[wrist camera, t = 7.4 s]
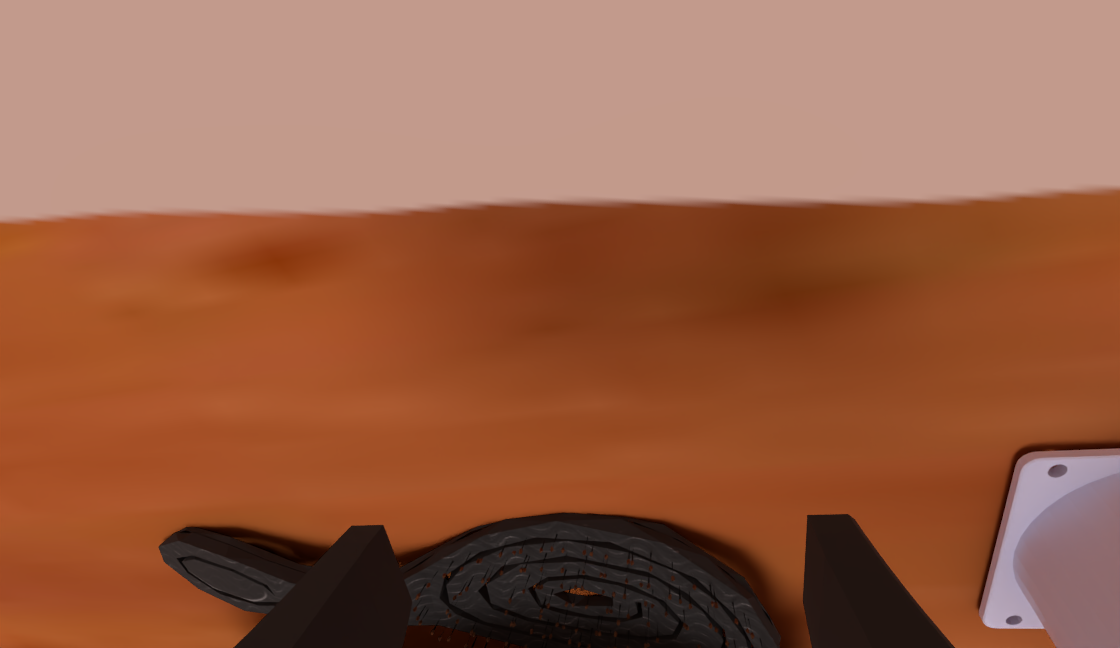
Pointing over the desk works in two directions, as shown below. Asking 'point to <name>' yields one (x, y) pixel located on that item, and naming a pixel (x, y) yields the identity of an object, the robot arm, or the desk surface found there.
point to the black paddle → (529, 584)
